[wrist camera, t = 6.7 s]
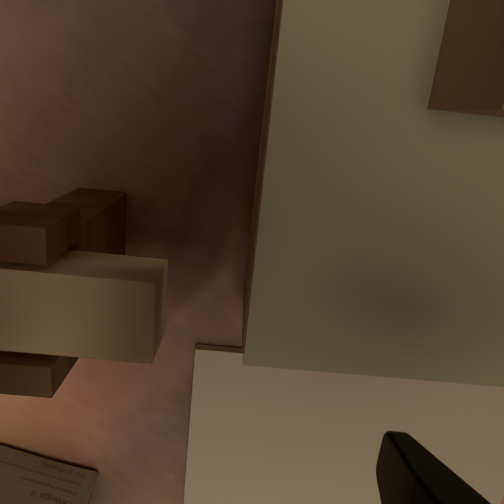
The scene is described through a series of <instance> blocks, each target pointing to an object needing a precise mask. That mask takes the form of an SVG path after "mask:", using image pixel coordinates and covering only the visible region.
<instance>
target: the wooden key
mask: <svg viewBox="0 0 504 504" xmlns="http://www.w3.org/2000/svg"><path fill="white" fill-rule="evenodd" d="M167 275H168V259H158V258H148V257H138V256H128V255H117V254H107V253H97V252H86V251H76V250H66V251H65V252H63V253H62V254H61V255H59V256H58V257H57V258H56V259H54V260H53V261H52V262H51V263H49V264H48V265H36V264H26V263H15V262H5V261H0V350H1V351H13V352H24V353H36V354H47V355H58V356H70V357H81V358H93V359H104V360H116V361H127V362H139V363H150V364H152V363H153V361H154V358H155V355H156V352H157V350H158V347H159V344H160V342H161V339H162V336H163V334H164V331H165V314H166V294H167Z"/></svg>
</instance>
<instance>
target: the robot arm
mask: <svg viewBox="0 0 504 504" xmlns="http://www.w3.org/2000/svg"><path fill="white" fill-rule="evenodd" d="M376 479H377V484H378V489H379V494H380V500H381V504H491V503H490V502H489V501H488V500H486V499H485V498H484V497H483V496H482V495H481V494H479V493H478V492H477V491H476V490H475V489H473V488H472V487H471V486H470V485H469V484H468V483H466V482H465V481H464V480H463V479H462V478H460V477H459V476H458V475H457V474H456V473H454V472H453V471H452V470H451V469H450V468H449V467H447V466H446V465H445V464H444V463H443V462H441V461H440V460H439V459H438V458H437V457H435V456H434V455H433V454H432V453H431V452H430V451H428V450H427V449H426V448H425V447H424V446H422V445H421V444H420V443H419V442H418V441H416V440H415V439H414V438H413V437H412V436H411V435H409V434H408V433H406V432H398V431H387V432H385V433H384V435H383V438H382V442H381V446H380V450H379V455H378V459H377V463H376Z"/></svg>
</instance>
